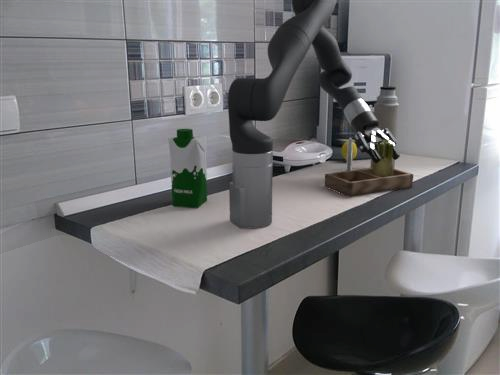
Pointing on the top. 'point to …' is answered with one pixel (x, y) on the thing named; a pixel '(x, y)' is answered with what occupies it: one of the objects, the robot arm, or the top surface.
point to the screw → (349, 156)
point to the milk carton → (188, 168)
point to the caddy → (367, 182)
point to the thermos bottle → (387, 113)
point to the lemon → (344, 150)
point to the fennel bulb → (383, 161)
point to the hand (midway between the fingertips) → (388, 160)
